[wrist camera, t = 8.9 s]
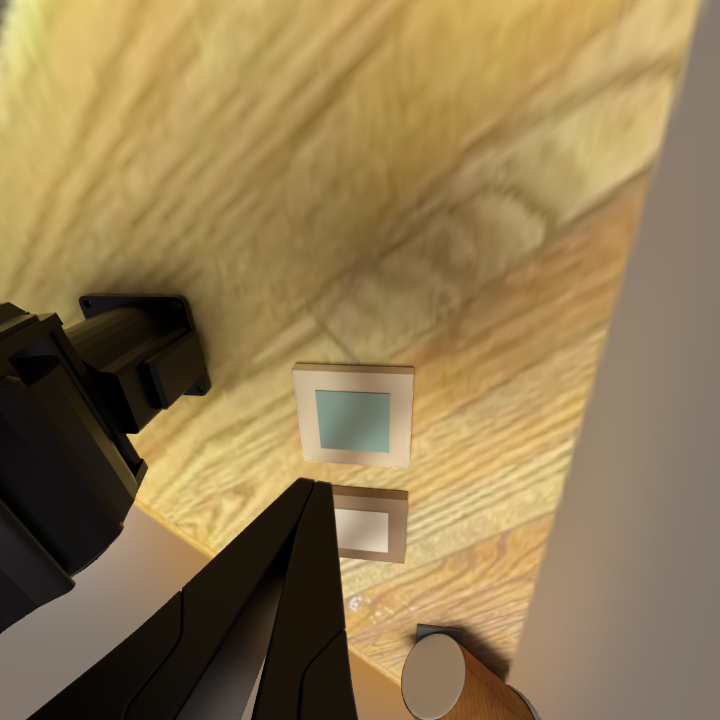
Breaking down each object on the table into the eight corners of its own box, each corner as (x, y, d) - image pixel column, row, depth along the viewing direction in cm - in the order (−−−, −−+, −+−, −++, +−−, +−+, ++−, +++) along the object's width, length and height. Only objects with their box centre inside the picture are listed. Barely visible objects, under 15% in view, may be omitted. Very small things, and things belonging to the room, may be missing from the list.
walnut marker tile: (318, 545, 29) (316, 555, 29) (310, 484, 26) (307, 493, 25) (404, 554, 29) (404, 564, 28) (407, 491, 25) (407, 501, 24)
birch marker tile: (306, 452, 25) (303, 462, 24) (295, 363, 21) (291, 371, 21) (409, 459, 24) (408, 469, 23) (413, 367, 21) (413, 375, 20)
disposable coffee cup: (374, 659, 34) (441, 732, 37) (405, 784, 25) (492, 871, 27) (450, 593, 35) (511, 668, 38) (508, 690, 26) (584, 783, 28)
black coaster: (415, 646, 35) (415, 648, 35) (417, 623, 33) (417, 626, 33) (457, 651, 34) (458, 654, 34) (462, 629, 33) (462, 631, 32)
